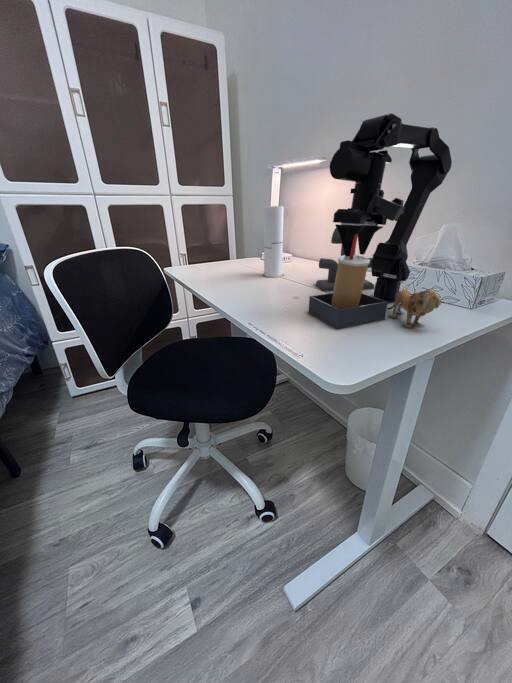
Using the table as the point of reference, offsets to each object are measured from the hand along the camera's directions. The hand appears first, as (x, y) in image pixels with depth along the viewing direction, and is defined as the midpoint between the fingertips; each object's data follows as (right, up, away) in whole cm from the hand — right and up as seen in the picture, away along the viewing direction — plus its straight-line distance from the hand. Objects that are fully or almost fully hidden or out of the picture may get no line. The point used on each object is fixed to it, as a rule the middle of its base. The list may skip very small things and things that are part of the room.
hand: (355, 255), depth 72 cm
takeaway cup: (-3, -14, +2) cm, 14 cm away
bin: (-2, -15, +2) cm, 15 cm away
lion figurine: (+12, -17, -2) cm, 21 cm away
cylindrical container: (-18, +5, +45) cm, 48 cm away
